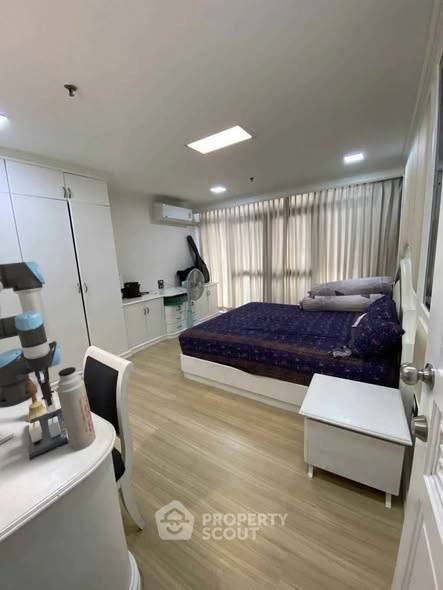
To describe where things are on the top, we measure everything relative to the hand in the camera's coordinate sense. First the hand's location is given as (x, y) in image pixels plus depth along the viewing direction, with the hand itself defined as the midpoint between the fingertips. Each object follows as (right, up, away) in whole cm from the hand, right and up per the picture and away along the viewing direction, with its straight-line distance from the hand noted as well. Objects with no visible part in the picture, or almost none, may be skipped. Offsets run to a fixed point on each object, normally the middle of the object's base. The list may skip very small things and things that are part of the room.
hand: (51, 411), depth 94 cm
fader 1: (-1, -8, -6) cm, 10 cm away
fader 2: (+5, -7, -4) cm, 9 cm away
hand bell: (-14, -7, +11) cm, 19 cm away
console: (-1, -8, 0) cm, 8 cm away
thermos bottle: (+15, -8, -6) cm, 18 cm away
